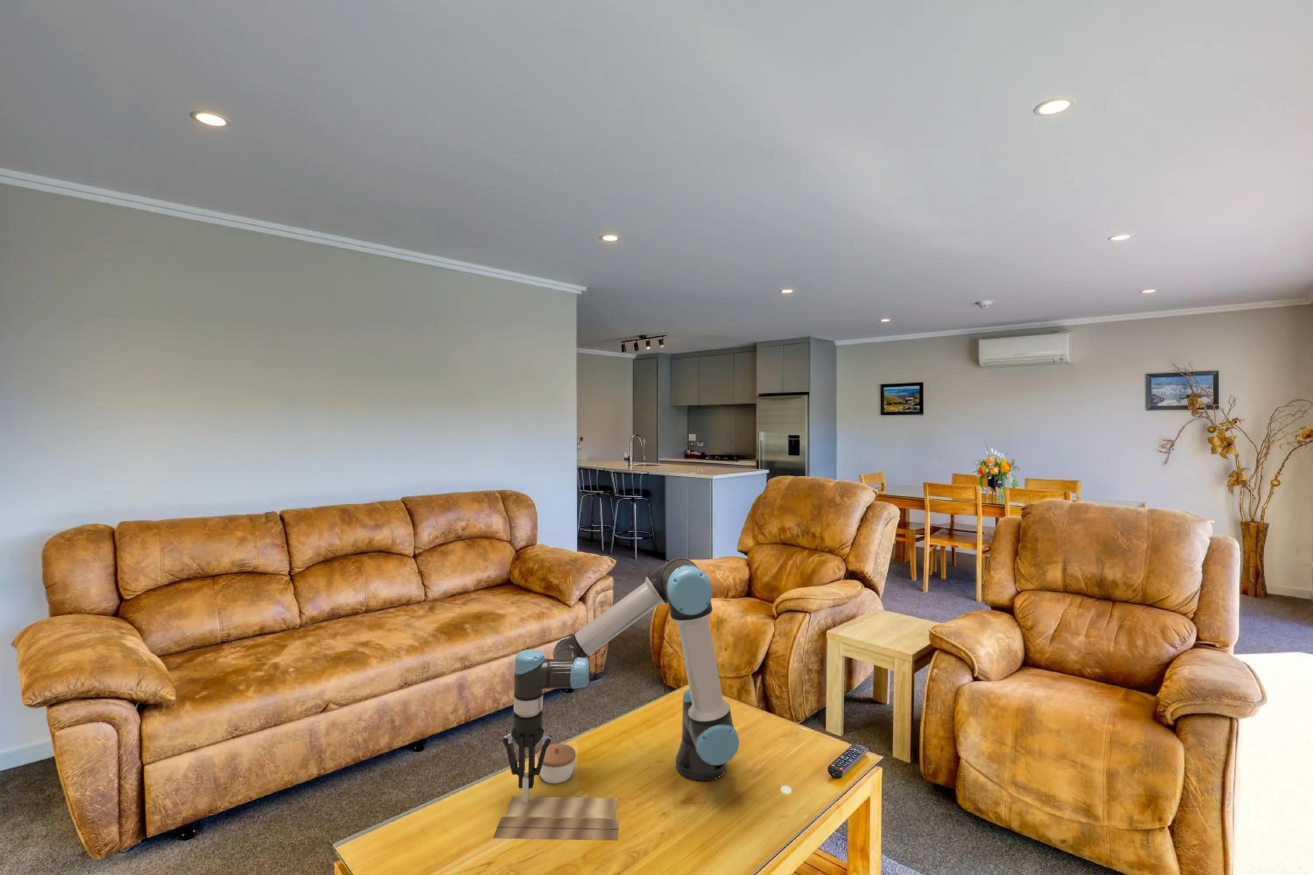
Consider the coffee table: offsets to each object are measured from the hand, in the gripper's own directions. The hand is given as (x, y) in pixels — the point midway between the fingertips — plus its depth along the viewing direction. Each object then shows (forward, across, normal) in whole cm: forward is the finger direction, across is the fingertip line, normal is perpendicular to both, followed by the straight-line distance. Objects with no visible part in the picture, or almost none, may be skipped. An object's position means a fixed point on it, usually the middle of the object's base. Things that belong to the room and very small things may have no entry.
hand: (525, 799), depth 162 cm
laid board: (+2, -10, +11) cm, 15 cm away
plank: (+2, -10, +2) cm, 11 cm away
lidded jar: (+2, -6, -12) cm, 14 cm away
